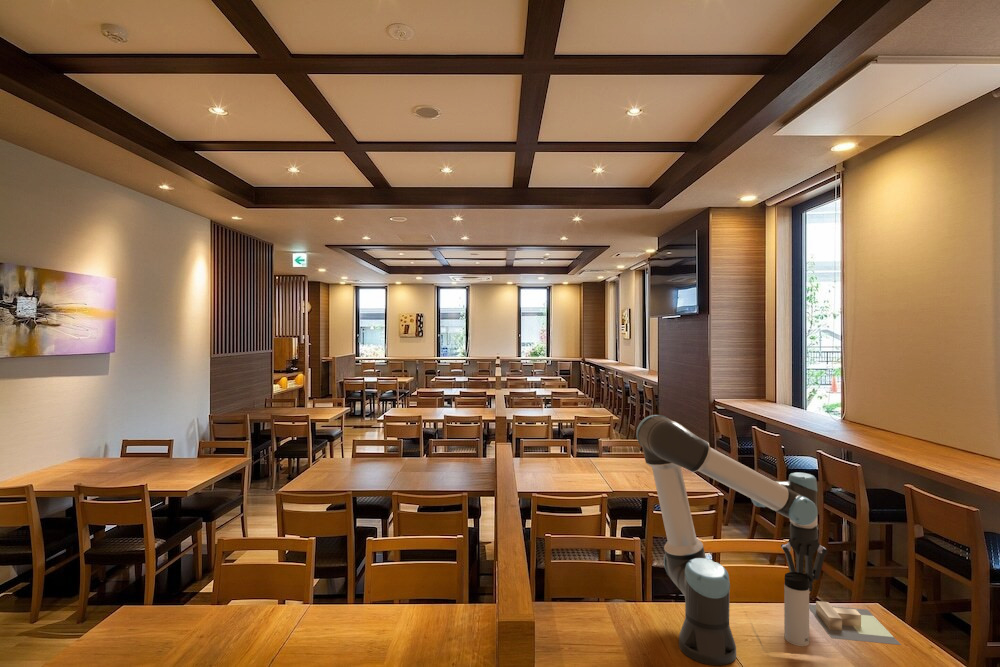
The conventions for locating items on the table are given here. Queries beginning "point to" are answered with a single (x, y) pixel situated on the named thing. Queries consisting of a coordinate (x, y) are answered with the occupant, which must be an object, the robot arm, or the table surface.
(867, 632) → the mat
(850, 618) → the T block
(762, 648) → the table surface
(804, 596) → the travel mug
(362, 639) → the table surface
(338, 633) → the table surface
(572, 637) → the table surface
